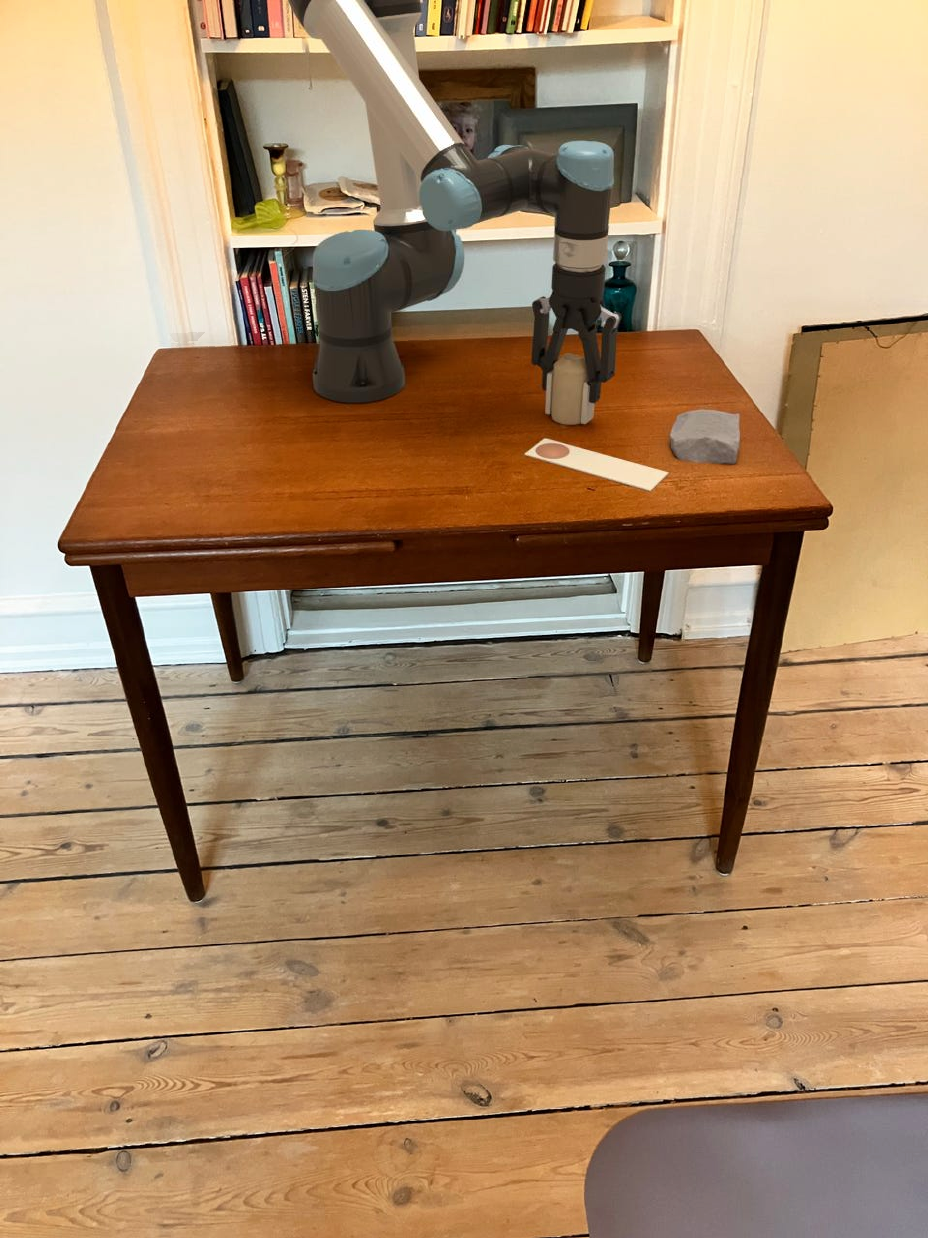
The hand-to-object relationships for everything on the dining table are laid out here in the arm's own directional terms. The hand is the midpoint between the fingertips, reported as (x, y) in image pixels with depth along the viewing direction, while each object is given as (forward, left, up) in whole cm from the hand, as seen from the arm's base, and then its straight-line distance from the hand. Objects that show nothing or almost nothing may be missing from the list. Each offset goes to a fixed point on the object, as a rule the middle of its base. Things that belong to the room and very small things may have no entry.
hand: (569, 415), depth 154 cm
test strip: (+10, -11, -1) cm, 15 cm away
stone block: (+21, +3, -1) cm, 21 cm away
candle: (0, 0, -1) cm, 1 cm away
